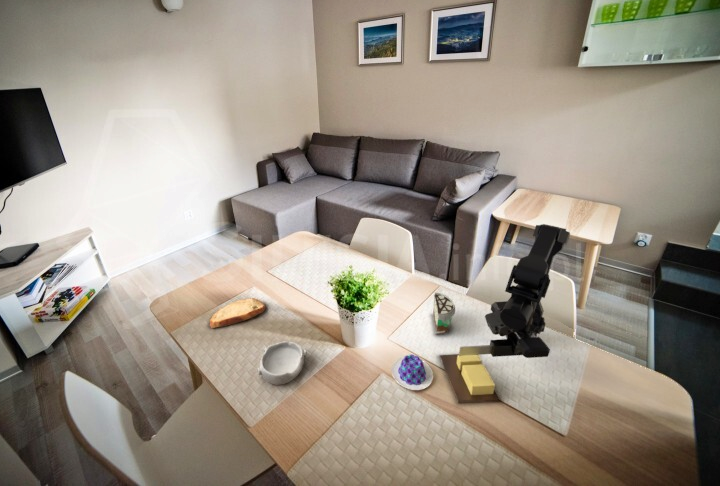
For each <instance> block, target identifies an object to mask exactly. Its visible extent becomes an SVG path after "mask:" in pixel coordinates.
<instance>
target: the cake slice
mask: <svg viewBox="0 0 720 486" xmlns="http://www.w3.org/2000/svg"><path fill="white" fill-rule="evenodd" d="M433 294H434V295H433V297H434V298H433V311H432V318H433V324H434V331H435V335H437V336H441V335H444V334H447V333H448V332H449V331H450V328H451V323H452V318H453V317H454V315H455V314H456V305H455V303H454V301H453V299H451V297H449V296H448V295H446V294H443V293H441V292H434V293H433Z"/></svg>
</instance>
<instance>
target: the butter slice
mask: <svg viewBox="0 0 720 486" xmlns="http://www.w3.org/2000/svg"><path fill="white" fill-rule="evenodd" d="M477 364H482V359H481V357H480V355H465V356H459V355H458V356H457V365H458V368H459V370H462V366H463V365H477Z"/></svg>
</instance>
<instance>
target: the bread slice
mask: <svg viewBox="0 0 720 486" xmlns="http://www.w3.org/2000/svg"><path fill="white" fill-rule="evenodd" d="M266 309H267V305H266V304H265V303H263V302H262V301H261V300H259V299H257V298H254V297H248V298H241V299H239V300H235V301H233V302H231V303H229V304H228V305H226V306H223V307H222V308H220V309H218V310H217V311H216V312H215V313H213V314H212V316H211V318H210V319H209V327H210V328H211V329H216V328H223V327H227V326H231V325H234V324H238V323H240V322H245V321H246V320H247V321H248V320H250V319H252V318H254V317H256V316H259V315H260V314H262V313H264V312H265V310H266Z"/></svg>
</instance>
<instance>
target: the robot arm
mask: <svg viewBox="0 0 720 486" xmlns="http://www.w3.org/2000/svg"><path fill="white" fill-rule="evenodd" d="M570 236H571V232H570V231H568V230H567V228H564V227H559V226H556V225H555V226H554V225H551V224H545V223H543V224H535V227H534V230H533V234H532V238H534V242H533V244H532V247H531V248H530V251H529V252H528V254H527V255H525V256H522V257H521V258H520V259H519V260H518V262H517V264H514V265H513V266H512V269H511V272H510V275H509V278H508V281H507V284H506V287H505V290H504V292H505V293H507V294H510V298H508V300H506V301H494V302H493V303H492V304H491V305H490V311H491V312H489V313H487V314H485V315H484V319H485V322H486V325H487V327H488V328H489V330H490V331H491V333H492V334H493V335H499V336H500V337H506V338H505V339H511V340H512V342H513V354H518V353H519V352H521V353H522V355H521V356H523V357H524V358H527V359H532V358H534V359H535V358H548V357H549V355H550V352H551V349H550V347H549V346H548V345H547V344H546V343H545V341H544V340H543V339H542V338H541V337H540V336H538V335H540V334H541V333H544V332H545V329H546V322H545V321H546V320H545V319H546V318H545V317H543V315H544V308H543V307H544V306H543V305H542V302H541V301H542V298H543V299H545V298H546V296H547V293H548V290H549V287H550V284H551V278H550V271H551V267H552V265H553V261H554V258H555V257H556V256H557V254H559V253H560V252H561V251H562V250H563V249H564V247H565V246H567V245H568V243H569V240H570ZM512 284H515V285H512Z"/></svg>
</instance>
